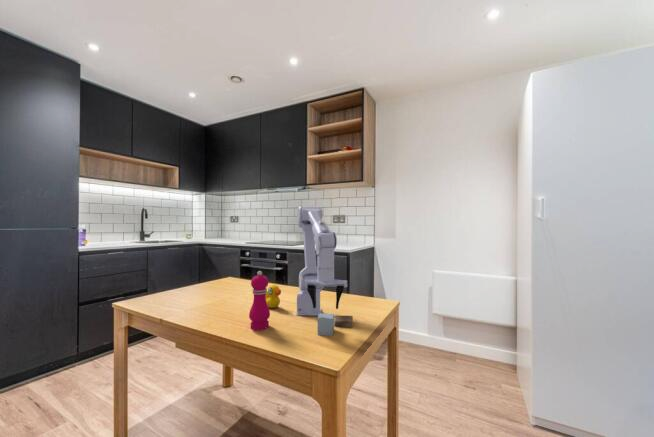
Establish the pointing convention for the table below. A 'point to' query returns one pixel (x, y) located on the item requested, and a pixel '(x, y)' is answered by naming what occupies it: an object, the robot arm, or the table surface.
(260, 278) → the pepper mill
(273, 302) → the duckling
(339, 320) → the base brick
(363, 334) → the table surface
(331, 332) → the gray brick
